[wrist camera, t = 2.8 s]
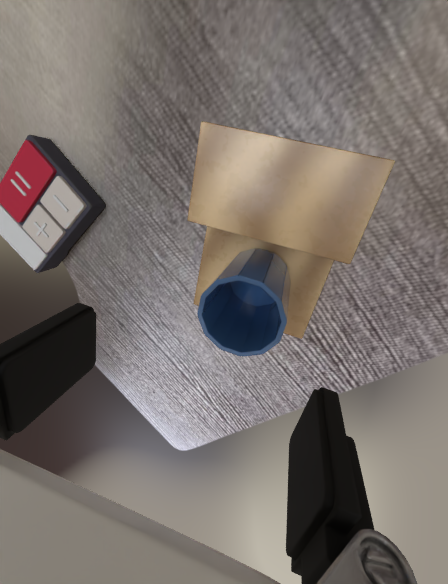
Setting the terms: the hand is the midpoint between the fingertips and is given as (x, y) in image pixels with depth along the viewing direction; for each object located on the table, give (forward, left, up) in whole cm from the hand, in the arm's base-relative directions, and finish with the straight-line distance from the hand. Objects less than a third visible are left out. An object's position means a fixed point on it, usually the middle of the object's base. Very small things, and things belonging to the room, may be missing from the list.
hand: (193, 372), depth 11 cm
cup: (-1, +2, -19) cm, 19 cm away
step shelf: (-1, -1, -24) cm, 24 cm away
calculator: (+31, +3, -24) cm, 39 cm away
